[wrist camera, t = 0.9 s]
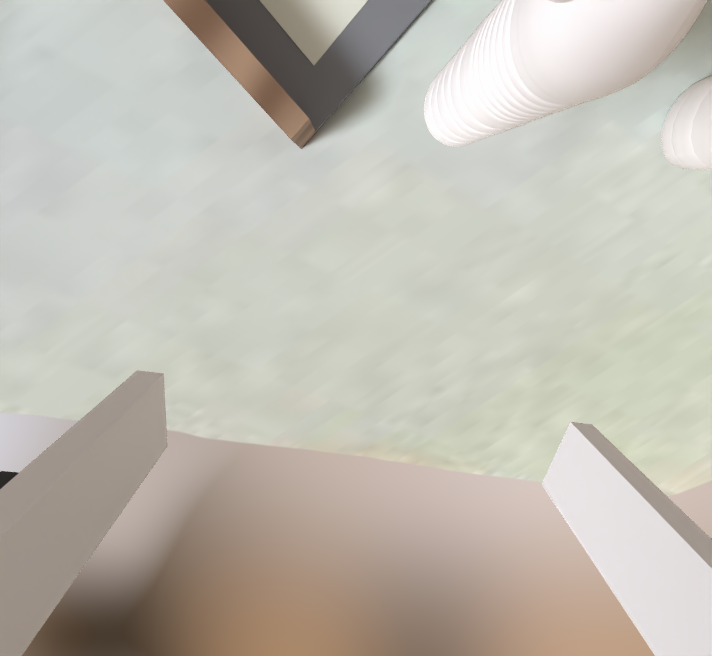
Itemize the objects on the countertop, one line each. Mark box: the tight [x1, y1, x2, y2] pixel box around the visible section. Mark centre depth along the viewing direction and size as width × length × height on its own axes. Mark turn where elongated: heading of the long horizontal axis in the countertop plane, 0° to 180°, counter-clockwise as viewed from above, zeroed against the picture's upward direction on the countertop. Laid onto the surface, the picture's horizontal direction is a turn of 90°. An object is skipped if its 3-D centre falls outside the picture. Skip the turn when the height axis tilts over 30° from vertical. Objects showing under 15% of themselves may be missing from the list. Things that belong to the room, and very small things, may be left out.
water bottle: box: [424, 0, 708, 146], centre depth 20 cm, size 9×6×25 cm
